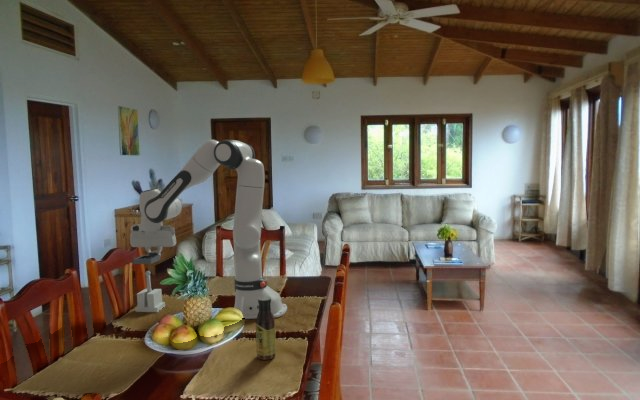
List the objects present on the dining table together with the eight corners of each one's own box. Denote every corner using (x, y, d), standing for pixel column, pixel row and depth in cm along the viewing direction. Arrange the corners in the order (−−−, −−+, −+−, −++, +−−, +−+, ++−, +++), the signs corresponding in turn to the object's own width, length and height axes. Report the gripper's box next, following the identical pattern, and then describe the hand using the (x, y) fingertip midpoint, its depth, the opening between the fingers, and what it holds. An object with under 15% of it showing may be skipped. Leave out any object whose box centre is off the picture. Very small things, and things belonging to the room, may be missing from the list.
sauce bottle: (255, 354, 149) (252, 296, 147) (273, 351, 152) (270, 293, 149) (259, 362, 143) (256, 302, 141) (278, 359, 146) (275, 299, 143)
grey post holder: (165, 306, 200) (162, 268, 198) (157, 312, 193) (154, 273, 191) (144, 306, 201) (141, 268, 199) (135, 311, 194) (132, 272, 192)
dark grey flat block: (165, 256, 203) (165, 250, 203) (151, 263, 190) (150, 256, 190) (149, 256, 204) (148, 250, 204) (133, 263, 191) (132, 257, 191)
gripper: (177, 224, 201) (179, 254, 203) (134, 225, 204) (137, 255, 206) (170, 226, 195) (173, 258, 196) (126, 227, 198) (129, 258, 199)
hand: (154, 256), depth 201 cm, fingers closed on dark grey flat block, 2 cm apart
